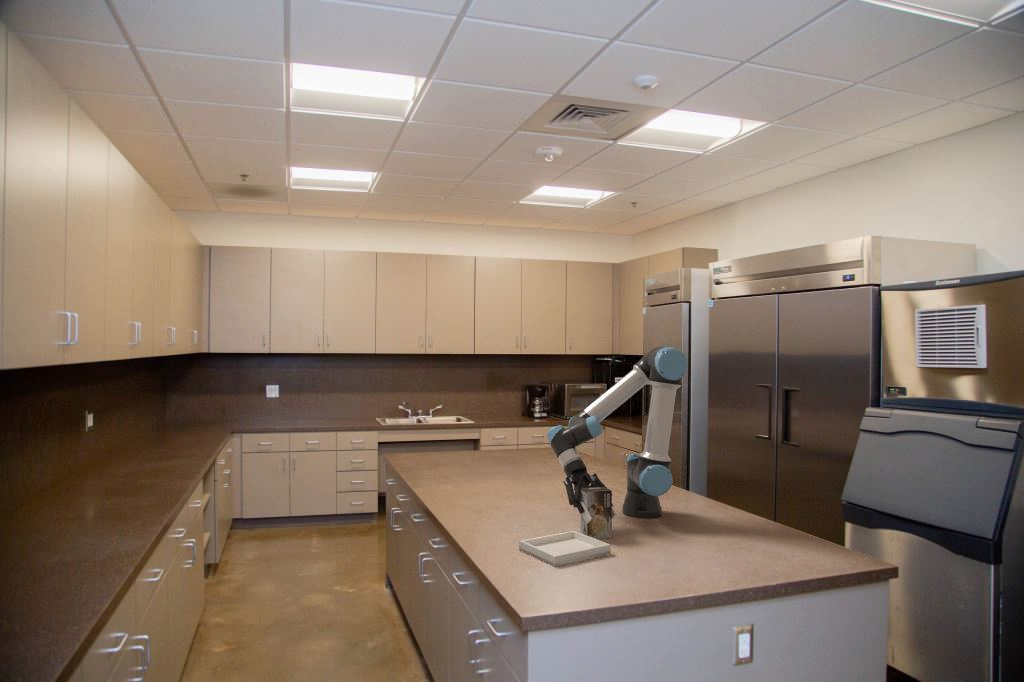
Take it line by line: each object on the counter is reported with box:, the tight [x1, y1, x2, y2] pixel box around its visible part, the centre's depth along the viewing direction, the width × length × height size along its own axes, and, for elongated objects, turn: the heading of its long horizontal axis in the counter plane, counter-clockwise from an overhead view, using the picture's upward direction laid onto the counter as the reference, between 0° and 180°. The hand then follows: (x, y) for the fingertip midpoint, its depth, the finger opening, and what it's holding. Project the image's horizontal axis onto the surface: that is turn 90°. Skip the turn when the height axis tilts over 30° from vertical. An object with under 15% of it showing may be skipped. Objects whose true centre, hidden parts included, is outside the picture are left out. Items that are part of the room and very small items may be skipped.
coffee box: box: [580, 487, 613, 539], centre depth 222 cm, size 9×6×16 cm
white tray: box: [518, 530, 612, 568], centre depth 205 cm, size 18×22×3 cm
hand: (601, 518), depth 220 cm, fingers open, 10 cm apart
